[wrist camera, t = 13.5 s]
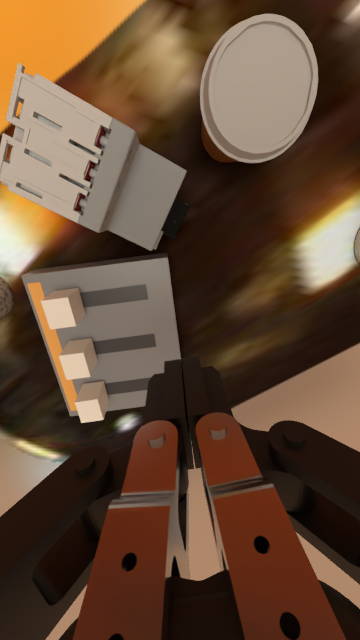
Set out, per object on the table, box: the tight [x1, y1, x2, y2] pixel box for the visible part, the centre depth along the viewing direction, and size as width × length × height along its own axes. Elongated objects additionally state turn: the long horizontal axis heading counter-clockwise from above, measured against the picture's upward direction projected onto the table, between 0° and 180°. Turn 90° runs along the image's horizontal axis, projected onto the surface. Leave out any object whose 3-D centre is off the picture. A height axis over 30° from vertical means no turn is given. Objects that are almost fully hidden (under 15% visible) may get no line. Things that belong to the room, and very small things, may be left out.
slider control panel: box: [21, 253, 181, 416], centre depth 38 cm, size 18×22×4 cm
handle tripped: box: [59, 338, 97, 380], centre depth 34 cm, size 3×4×4 cm
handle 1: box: [41, 288, 85, 330], centre depth 32 cm, size 3×4×4 cm
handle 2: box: [75, 381, 109, 423], centre depth 37 cm, size 3×4×4 cm
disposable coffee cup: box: [200, 14, 318, 163], centre depth 26 cm, size 10×10×12 cm
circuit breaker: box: [0, 63, 189, 251], centre depth 26 cm, size 8×14×15 cm, turn 64°
